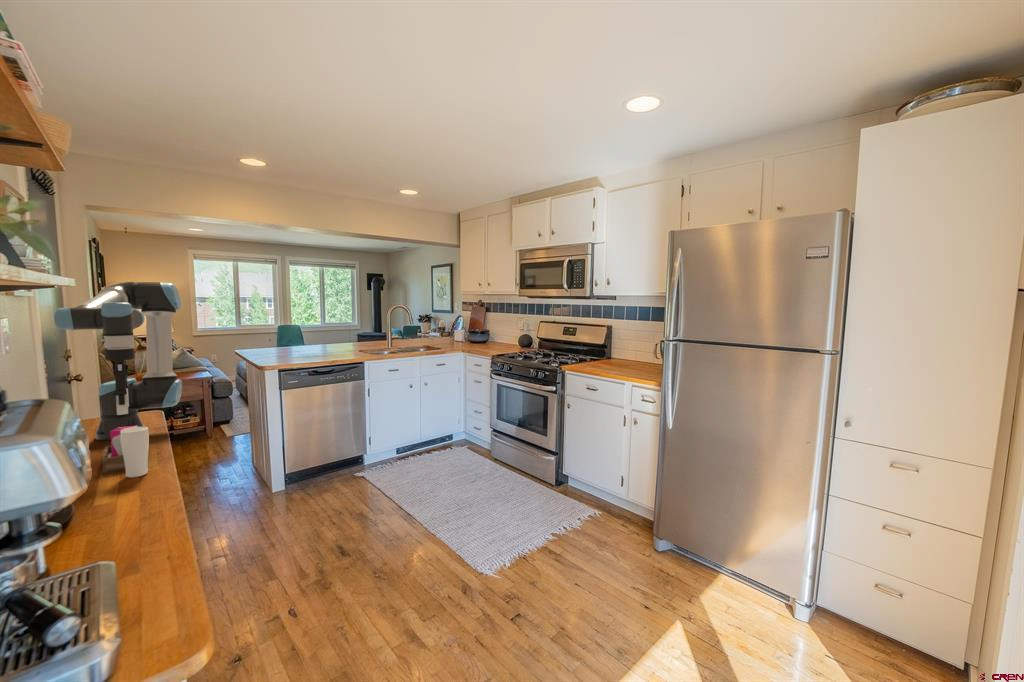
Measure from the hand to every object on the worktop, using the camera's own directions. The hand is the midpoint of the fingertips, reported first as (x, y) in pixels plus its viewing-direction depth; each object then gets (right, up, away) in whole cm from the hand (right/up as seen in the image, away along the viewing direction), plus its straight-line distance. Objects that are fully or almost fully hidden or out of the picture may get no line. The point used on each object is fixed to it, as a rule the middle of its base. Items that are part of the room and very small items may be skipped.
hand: (123, 410), depth 146 cm
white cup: (+12, -20, -8) cm, 24 cm away
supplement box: (0, -18, +2) cm, 18 cm away
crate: (0, -18, +1) cm, 19 cm away
